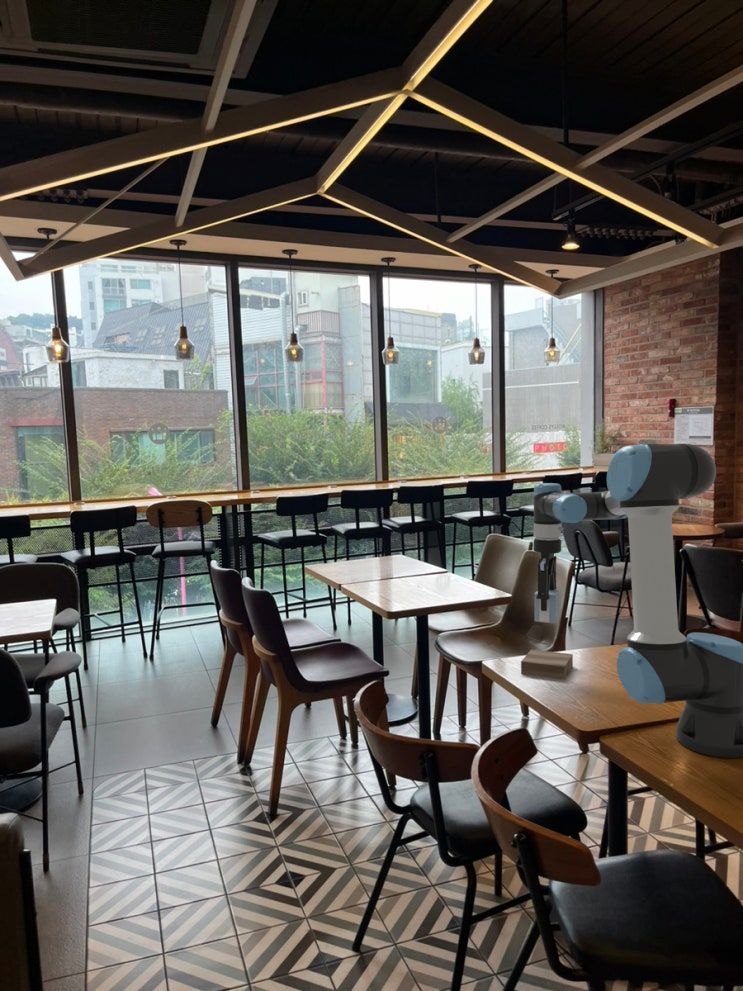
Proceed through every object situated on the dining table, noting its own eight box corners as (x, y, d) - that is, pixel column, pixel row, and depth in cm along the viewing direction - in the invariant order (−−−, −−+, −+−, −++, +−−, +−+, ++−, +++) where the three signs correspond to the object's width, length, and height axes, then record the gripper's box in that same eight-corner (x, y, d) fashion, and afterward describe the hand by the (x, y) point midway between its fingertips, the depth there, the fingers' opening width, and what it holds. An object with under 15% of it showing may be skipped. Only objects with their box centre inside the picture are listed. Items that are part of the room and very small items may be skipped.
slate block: (555, 623, 193) (556, 595, 192) (534, 621, 195) (534, 593, 195) (560, 618, 198) (560, 590, 197) (539, 616, 201) (539, 589, 200)
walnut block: (564, 681, 190) (564, 666, 189) (521, 675, 195) (521, 661, 195) (572, 667, 200) (572, 654, 200) (531, 662, 206) (531, 649, 205)
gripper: (553, 543, 185) (553, 628, 186) (567, 534, 201) (567, 612, 203) (525, 542, 188) (525, 625, 190) (541, 533, 205) (541, 609, 207)
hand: (547, 618), depth 197 cm, fingers closed on slate block, 6 cm apart
